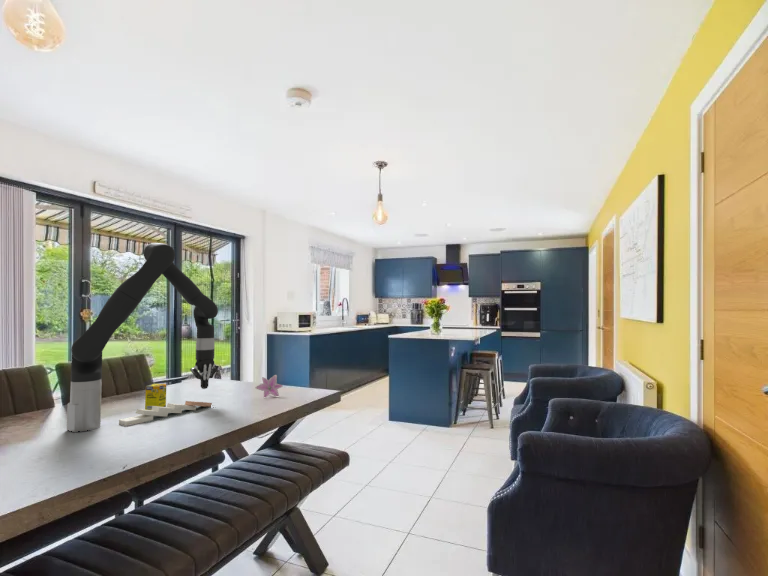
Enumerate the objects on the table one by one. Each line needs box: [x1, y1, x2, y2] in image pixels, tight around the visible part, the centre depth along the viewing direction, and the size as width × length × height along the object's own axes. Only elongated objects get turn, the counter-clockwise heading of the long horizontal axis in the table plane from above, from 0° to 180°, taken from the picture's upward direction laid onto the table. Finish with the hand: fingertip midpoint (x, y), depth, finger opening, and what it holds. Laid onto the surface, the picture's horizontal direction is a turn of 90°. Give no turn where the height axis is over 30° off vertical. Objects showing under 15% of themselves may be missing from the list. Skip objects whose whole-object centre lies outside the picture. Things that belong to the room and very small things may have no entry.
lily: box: [255, 374, 284, 398], centre depth 209 cm, size 12×12×10 cm
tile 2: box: [166, 402, 197, 410], centre depth 176 cm, size 2×5×10 cm
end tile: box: [118, 414, 153, 427], centre depth 161 cm, size 2×5×10 cm
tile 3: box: [151, 406, 183, 413], centre depth 171 cm, size 2×5×10 cm
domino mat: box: [143, 406, 215, 424], centre depth 175 cm, size 31×9×1 cm, turn 148°
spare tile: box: [184, 400, 213, 407], centre depth 182 cm, size 2×5×10 cm
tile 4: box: [135, 408, 168, 417], centre depth 166 cm, size 2×5×10 cm
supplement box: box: [144, 383, 167, 410], centre depth 179 cm, size 6×6×11 cm
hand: (204, 388), depth 185 cm, fingers closed
